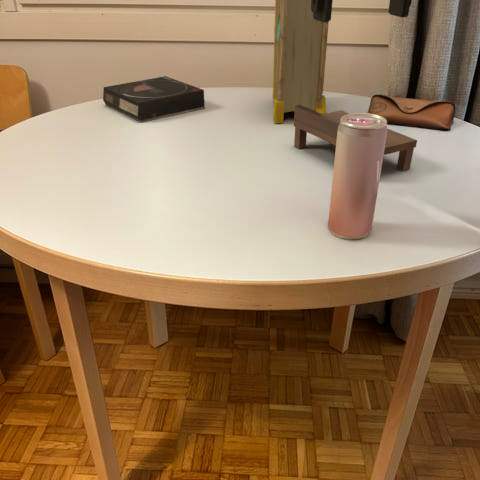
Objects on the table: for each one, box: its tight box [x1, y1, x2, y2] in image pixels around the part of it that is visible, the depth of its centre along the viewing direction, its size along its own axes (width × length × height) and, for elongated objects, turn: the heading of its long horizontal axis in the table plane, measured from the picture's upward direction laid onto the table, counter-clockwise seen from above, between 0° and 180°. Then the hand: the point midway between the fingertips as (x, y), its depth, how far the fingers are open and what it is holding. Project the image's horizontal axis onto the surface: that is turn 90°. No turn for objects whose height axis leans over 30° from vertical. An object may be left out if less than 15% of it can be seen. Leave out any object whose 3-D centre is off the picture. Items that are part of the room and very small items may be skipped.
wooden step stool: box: [293, 105, 418, 171], centre depth 93 cm, size 11×20×7 cm, turn 30°
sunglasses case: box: [367, 94, 456, 130], centre depth 111 cm, size 18×7×7 cm
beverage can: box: [327, 112, 388, 240], centre depth 69 cm, size 6×6×15 cm
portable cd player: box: [102, 75, 206, 123], centre depth 120 cm, size 16×17×4 cm
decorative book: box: [272, 0, 330, 124], centre depth 109 cm, size 20×11×30 cm, turn 178°
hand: (360, 18), depth 60 cm, fingers open, 9 cm apart
